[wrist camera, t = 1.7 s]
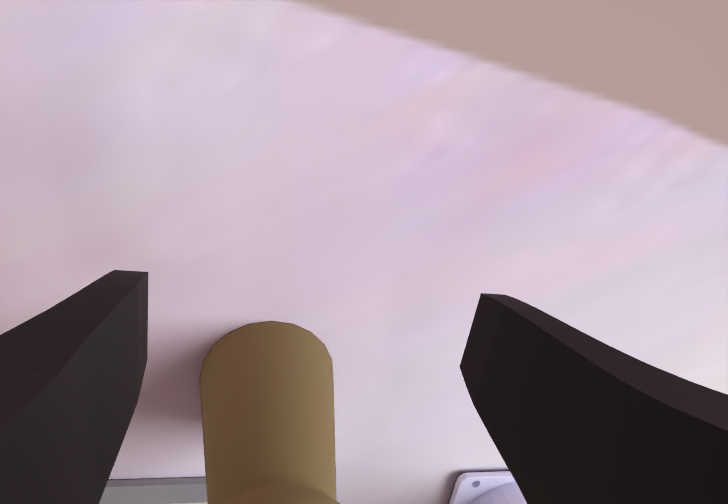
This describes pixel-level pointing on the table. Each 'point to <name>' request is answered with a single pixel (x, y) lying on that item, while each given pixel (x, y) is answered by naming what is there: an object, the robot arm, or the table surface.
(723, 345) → the table surface
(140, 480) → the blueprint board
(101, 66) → the table surface
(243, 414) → the cork
